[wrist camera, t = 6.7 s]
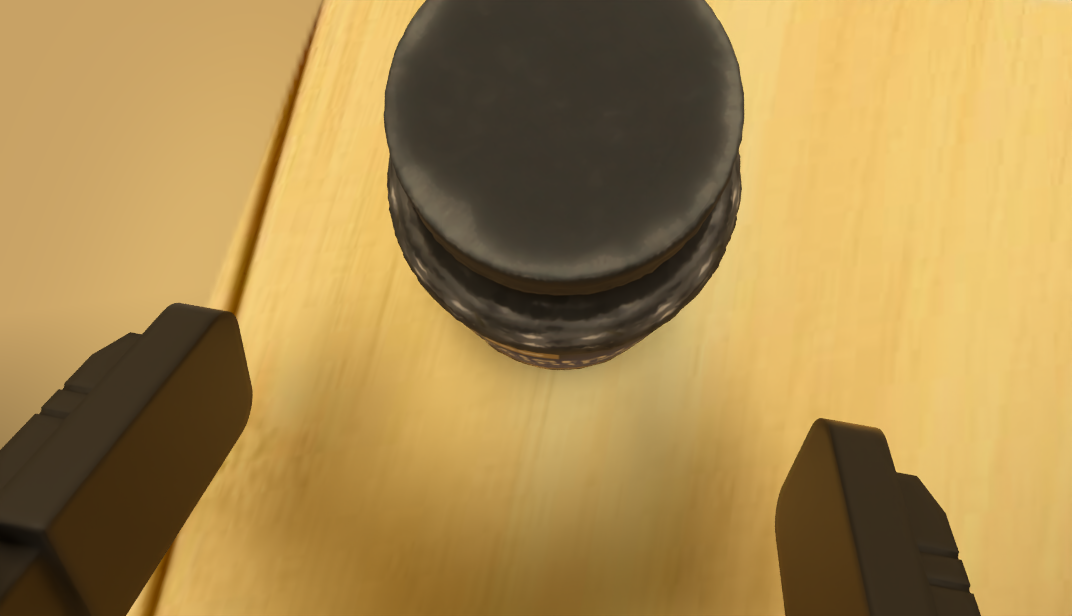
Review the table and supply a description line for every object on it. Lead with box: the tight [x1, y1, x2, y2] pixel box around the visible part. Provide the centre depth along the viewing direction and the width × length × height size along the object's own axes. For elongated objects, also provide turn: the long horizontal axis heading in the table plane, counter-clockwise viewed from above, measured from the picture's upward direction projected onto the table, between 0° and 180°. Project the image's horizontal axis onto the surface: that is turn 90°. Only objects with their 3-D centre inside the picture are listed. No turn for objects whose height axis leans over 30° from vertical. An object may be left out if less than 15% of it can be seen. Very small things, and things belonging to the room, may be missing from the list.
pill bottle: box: [384, 0, 744, 370], centre depth 15 cm, size 6×6×11 cm
